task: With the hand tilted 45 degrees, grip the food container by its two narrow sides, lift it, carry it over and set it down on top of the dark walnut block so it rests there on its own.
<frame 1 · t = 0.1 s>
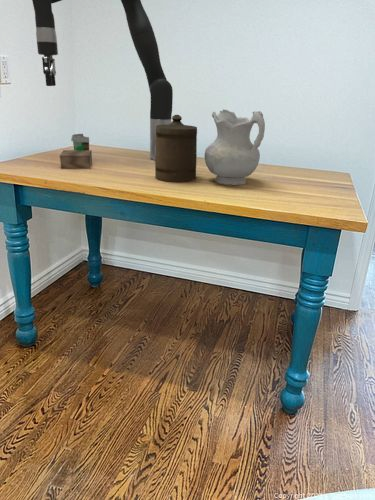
hand: (51, 85, 168), 29 cm above the table, fingers open, 8 cm apart
food container: (80, 159, 179), on the table
ceramic pitcher: (233, 182, 149), on the table
walnut block: (77, 165, 166), on the table
wooden container: (175, 178, 152), on the table
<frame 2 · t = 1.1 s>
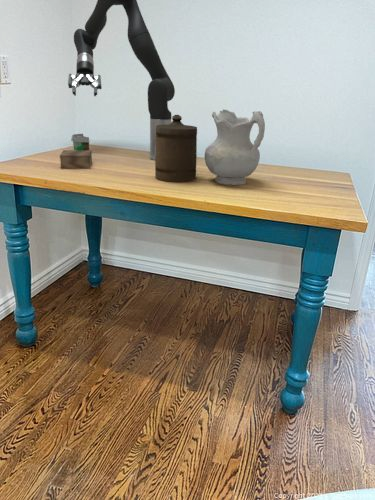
hand: (84, 94, 181), 26 cm above the table, fingers open, 8 cm apart
nothing on the table moved.
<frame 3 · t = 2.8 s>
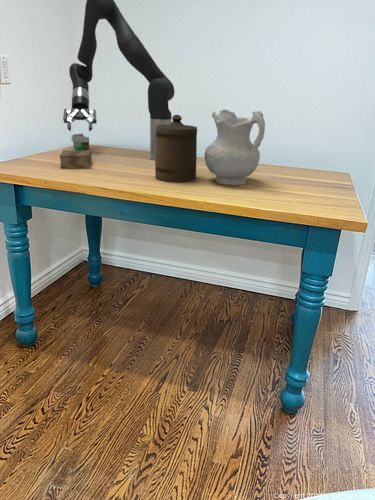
hand: (79, 129, 182), 11 cm above the table, fingers open, 8 cm apart
nothing on the table moved.
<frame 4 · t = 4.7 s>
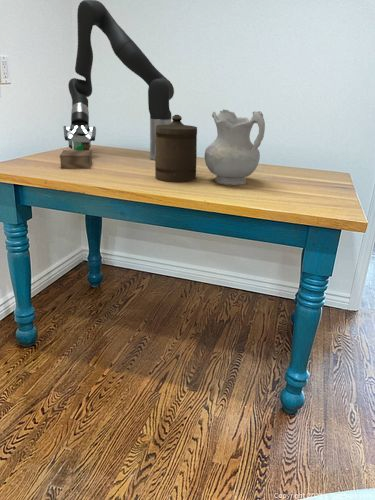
hand: (79, 147, 178), 5 cm above the table, fingers closed on food container, 6 cm apart
food container: (80, 159, 179), on the table, touching gripper
everything else where it was.
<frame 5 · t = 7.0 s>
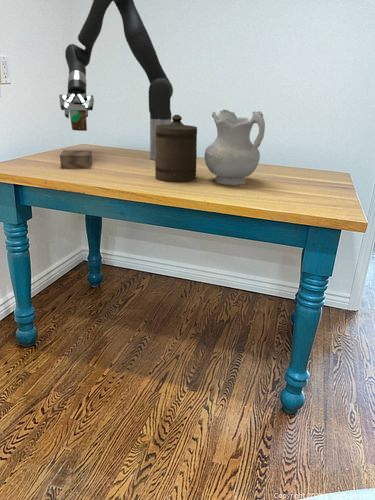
hand: (76, 116, 168), 18 cm above the table, fingers closed on food container, 6 cm apart
food container: (77, 130, 170), point 13 cm above the table, touching gripper
everything else where it was.
when the fingers open (11 cm above the table, at t = 9.4 s): food container drops 1 cm, resting on walnut block.
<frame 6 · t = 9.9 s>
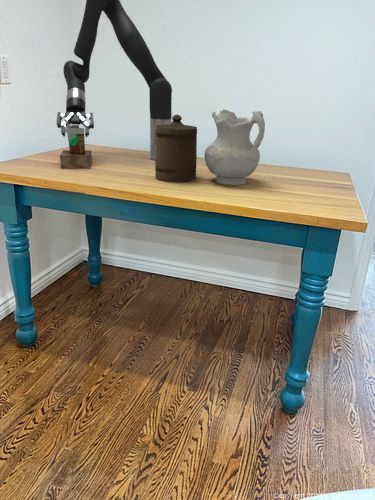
hand: (75, 135, 162), 12 cm above the table, fingers open, 8 cm apart
food container: (75, 153, 165), point 5 cm above the table, touching walnut block
everything else where it was.
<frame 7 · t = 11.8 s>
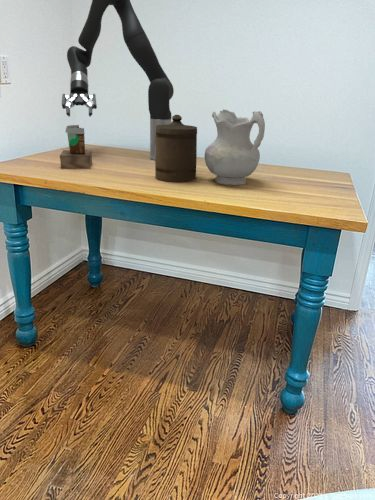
hand: (79, 115, 173), 18 cm above the table, fingers open, 8 cm apart
nothing on the table moved.
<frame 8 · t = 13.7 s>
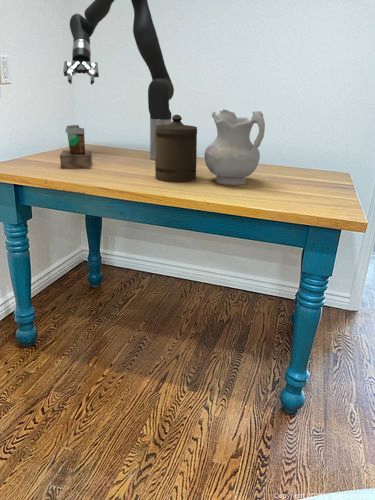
hand: (81, 82, 172), 31 cm above the table, fingers open, 8 cm apart
nothing on the table moved.
at the end: food container inside the target area on the walnut block (0.5 cm from its centre), point 4.9 cm above the walnut block's base; food container touching walnut block; the gripper is holding nothing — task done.
